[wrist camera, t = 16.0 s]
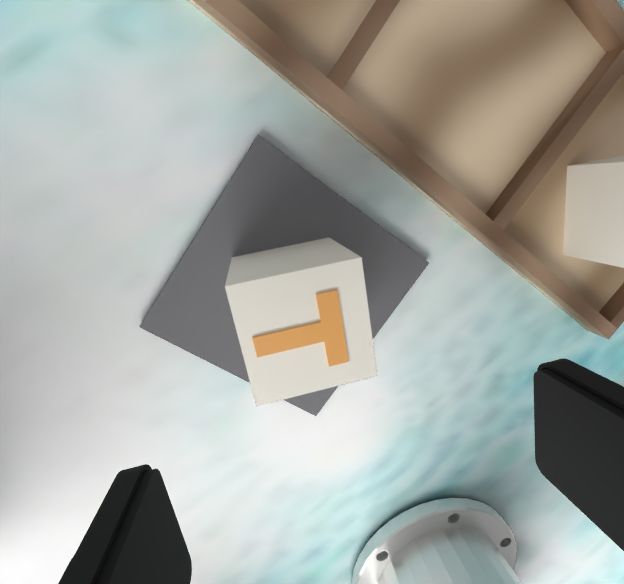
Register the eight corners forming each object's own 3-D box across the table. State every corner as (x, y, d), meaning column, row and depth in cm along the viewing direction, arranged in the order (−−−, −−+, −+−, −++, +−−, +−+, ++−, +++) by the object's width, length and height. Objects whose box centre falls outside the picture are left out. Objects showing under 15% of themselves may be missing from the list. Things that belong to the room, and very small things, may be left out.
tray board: (716, 178, 22) (746, 177, 20) (588, 330, 23) (608, 339, 22) (245, -426, 12) (244, -503, 10) (80, -89, 13) (61, -120, 12)
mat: (425, 261, 20) (428, 262, 19) (314, 412, 21) (316, 416, 21) (258, 135, 17) (258, 134, 16) (141, 324, 18) (139, 326, 18)
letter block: (232, 257, 18) (224, 287, 12) (331, 236, 18) (365, 257, 13) (254, 346, 19) (256, 408, 14) (345, 325, 20) (380, 376, 14)
